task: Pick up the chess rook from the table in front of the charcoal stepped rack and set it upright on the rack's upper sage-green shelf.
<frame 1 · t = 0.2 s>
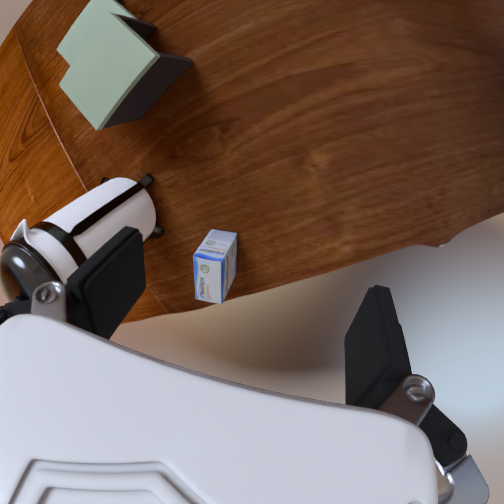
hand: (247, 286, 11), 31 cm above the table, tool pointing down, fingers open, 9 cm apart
medicine box: (224, 250, 48), on the table
rack: (128, 52, 33), on the table
coffee press: (136, 211, 48), on the table
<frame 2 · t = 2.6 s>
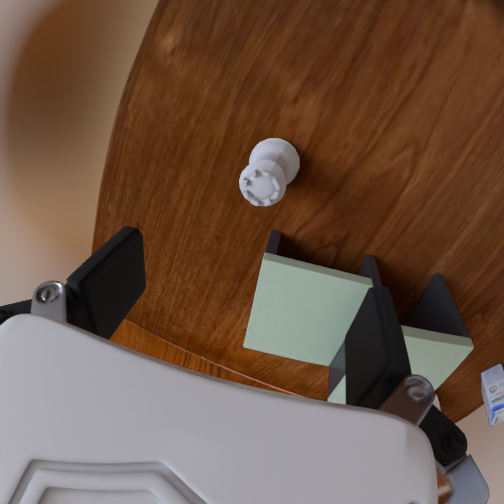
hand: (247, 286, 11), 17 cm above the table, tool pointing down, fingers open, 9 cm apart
rook chess piece: (275, 160, 26), on the table
medicine box: (490, 376, 35), on the table
rack: (346, 297, 32), on the table
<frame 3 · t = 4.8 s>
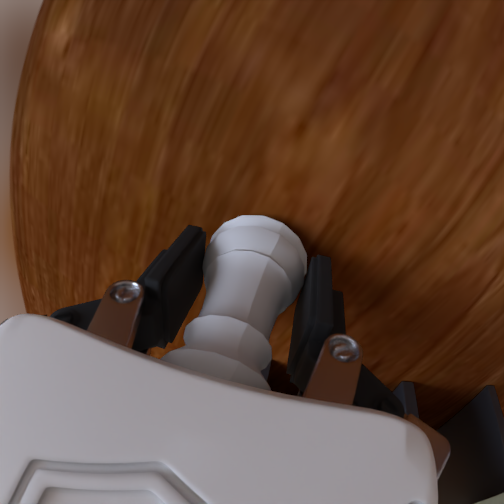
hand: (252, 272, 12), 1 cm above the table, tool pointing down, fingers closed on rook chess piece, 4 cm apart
rook chess piece: (259, 253, 13), on the table, touching gripper
rack: (364, 420, 19), on the table
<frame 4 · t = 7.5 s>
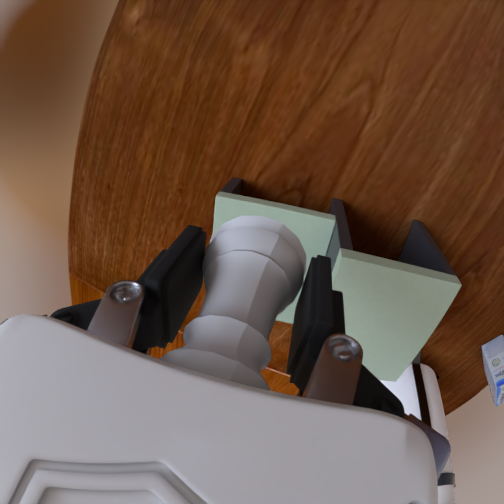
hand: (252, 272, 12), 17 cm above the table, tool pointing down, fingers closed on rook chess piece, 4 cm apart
rook chess piece: (258, 253, 13), point 16 cm above the table, touching gripper
medicine box: (492, 351, 33), on the table
rack: (318, 249, 31), on the table
coffee press: (402, 376, 39), on the table
when the fingers open (12 cm above the table, at t = 10.3 s): rook chess piece stays where it is, resting on rack.
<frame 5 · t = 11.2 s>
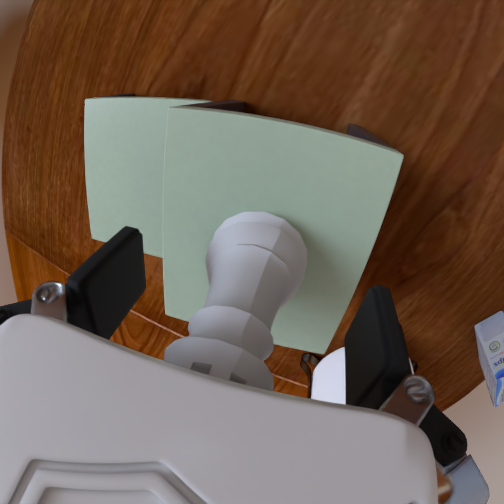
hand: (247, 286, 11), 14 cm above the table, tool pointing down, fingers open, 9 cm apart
rook chess piece: (260, 249, 14), point 11 cm above the table, touching rack
medicine box: (488, 334, 26), on the table
rack: (223, 171, 23), on the table
coffee press: (368, 364, 32), on the table
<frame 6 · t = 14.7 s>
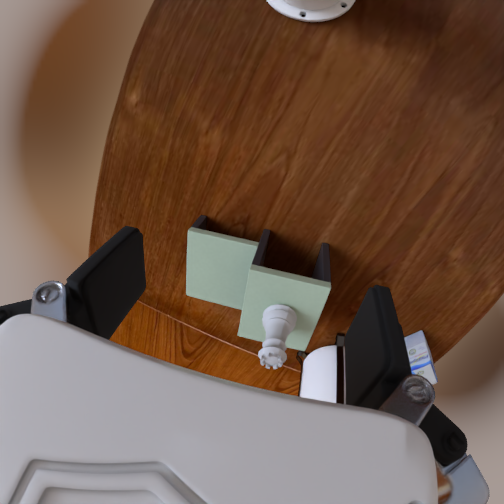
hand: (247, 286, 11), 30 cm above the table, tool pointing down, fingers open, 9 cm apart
rook chess piece: (280, 313, 38), point 11 cm above the table, touching rack
medicine box: (416, 343, 50), on the table
rack: (257, 261, 47), on the table
coffee press: (337, 358, 56), on the table
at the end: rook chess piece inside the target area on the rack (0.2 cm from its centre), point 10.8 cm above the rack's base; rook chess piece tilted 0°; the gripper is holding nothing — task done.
